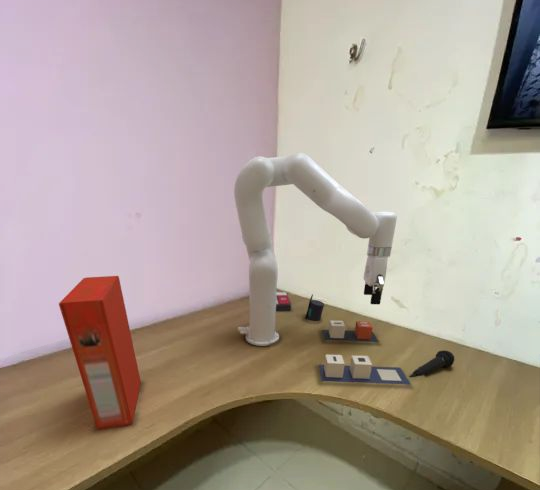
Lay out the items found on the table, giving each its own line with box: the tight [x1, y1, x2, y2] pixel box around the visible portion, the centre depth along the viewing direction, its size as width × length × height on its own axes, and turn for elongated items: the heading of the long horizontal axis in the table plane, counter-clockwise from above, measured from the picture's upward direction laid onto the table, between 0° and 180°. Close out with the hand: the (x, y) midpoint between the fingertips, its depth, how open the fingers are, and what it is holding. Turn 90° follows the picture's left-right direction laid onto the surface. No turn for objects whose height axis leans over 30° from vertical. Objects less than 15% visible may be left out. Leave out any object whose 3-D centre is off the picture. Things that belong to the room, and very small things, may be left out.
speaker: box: [304, 294, 325, 322], centre depth 131 cm, size 8×6×10 cm
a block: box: [328, 319, 346, 338], centre depth 117 cm, size 5×5×5 cm
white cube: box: [323, 354, 346, 378], centre depth 94 cm, size 5×5×5 cm
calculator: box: [276, 291, 292, 312], centre depth 147 cm, size 11×4×15 cm
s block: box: [354, 320, 374, 339], centre depth 117 cm, size 5×5×5 cm
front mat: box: [318, 364, 411, 385], centre depth 95 cm, size 26×9×1 cm, turn 88°
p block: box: [349, 355, 373, 379], centre depth 94 cm, size 5×5×5 cm
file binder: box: [58, 275, 142, 431], centre depth 74 cm, size 8×17×32 cm, turn 14°
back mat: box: [321, 329, 379, 343], centre depth 118 cm, size 20×9×1 cm, turn 88°
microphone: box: [408, 349, 455, 378], centre depth 98 cm, size 6×6×20 cm
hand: (371, 299), depth 111 cm, fingers open, 9 cm apart
